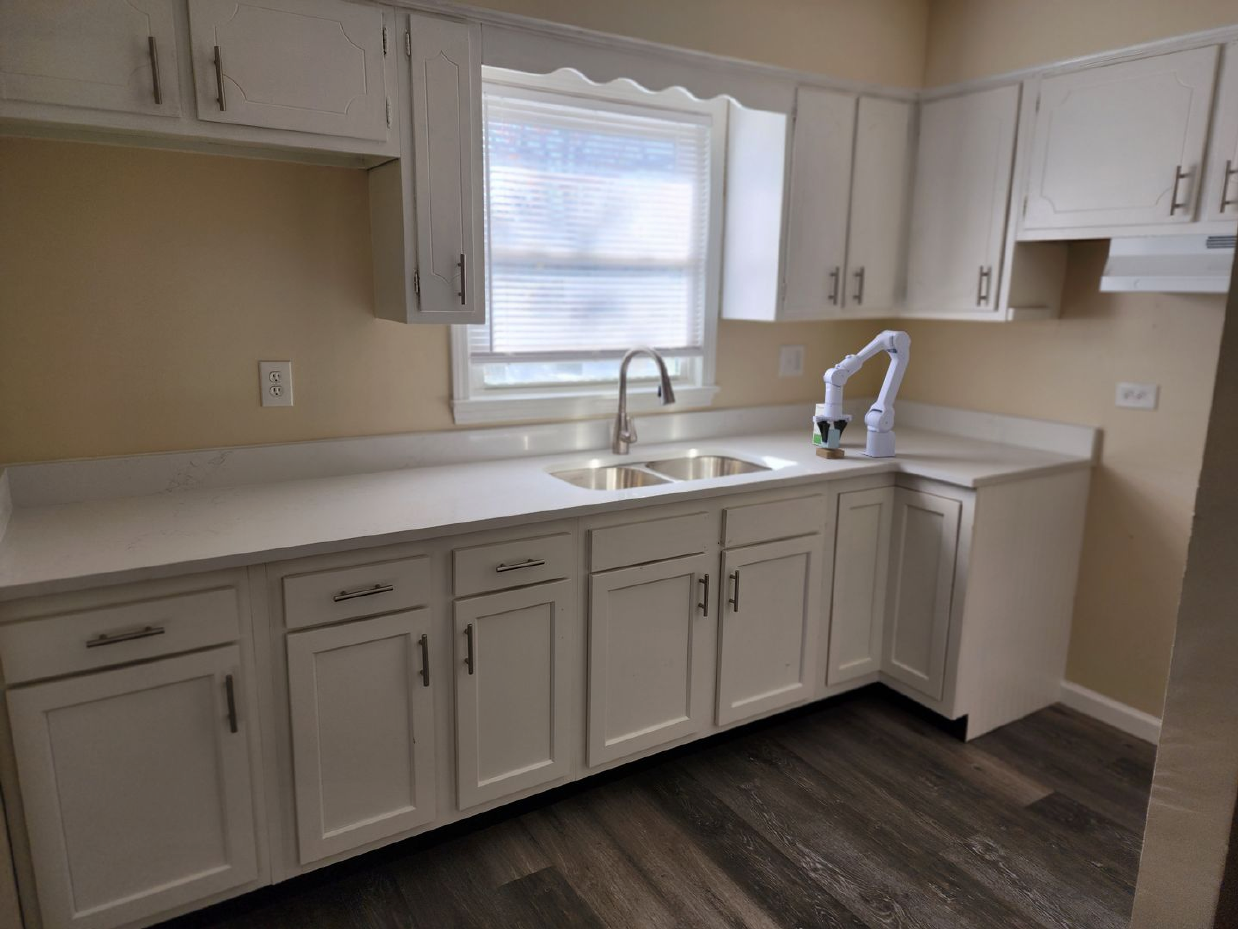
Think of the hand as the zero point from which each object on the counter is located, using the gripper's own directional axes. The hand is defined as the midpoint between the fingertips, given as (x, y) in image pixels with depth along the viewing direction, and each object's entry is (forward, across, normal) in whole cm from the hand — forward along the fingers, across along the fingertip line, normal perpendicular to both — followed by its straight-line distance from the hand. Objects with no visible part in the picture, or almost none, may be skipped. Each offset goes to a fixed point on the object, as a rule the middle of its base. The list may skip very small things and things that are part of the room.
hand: (830, 441), depth 285 cm
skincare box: (+6, -12, -20) cm, 23 cm away
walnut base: (+6, 0, 0) cm, 6 cm away
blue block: (+2, 0, 0) cm, 2 cm away
